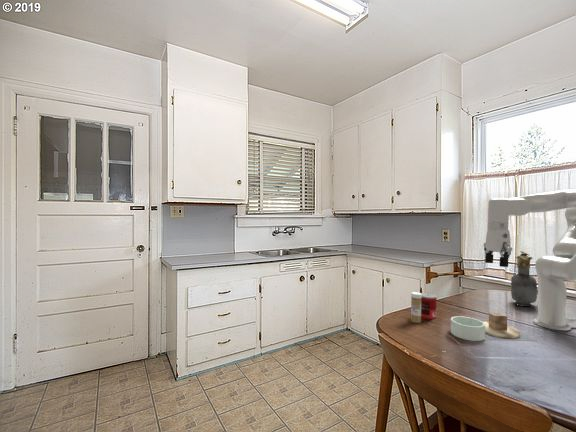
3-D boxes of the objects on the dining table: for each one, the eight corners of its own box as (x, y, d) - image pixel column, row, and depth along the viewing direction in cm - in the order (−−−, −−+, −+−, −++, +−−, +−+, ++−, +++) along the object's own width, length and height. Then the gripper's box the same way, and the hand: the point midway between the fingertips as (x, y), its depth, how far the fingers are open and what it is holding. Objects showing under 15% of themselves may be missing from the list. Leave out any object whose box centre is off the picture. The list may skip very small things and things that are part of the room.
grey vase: (511, 306, 156) (512, 252, 156) (509, 298, 172) (510, 248, 171) (538, 310, 150) (538, 253, 150) (533, 301, 165) (534, 250, 165)
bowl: (473, 330, 125) (473, 316, 125) (491, 342, 113) (492, 327, 113) (445, 329, 125) (445, 315, 125) (460, 341, 113) (461, 326, 113)
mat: (504, 324, 131) (504, 323, 131) (536, 342, 113) (536, 340, 113) (464, 323, 132) (464, 322, 132) (490, 341, 114) (490, 339, 114)
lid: (503, 324, 130) (503, 308, 129) (529, 339, 115) (530, 321, 114) (469, 323, 130) (469, 308, 130) (491, 338, 115) (491, 320, 115)
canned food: (435, 315, 143) (435, 293, 143) (437, 321, 135) (437, 297, 135) (418, 313, 145) (418, 292, 145) (420, 319, 138) (420, 296, 138)
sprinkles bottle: (409, 321, 134) (409, 293, 134) (412, 319, 138) (412, 291, 138) (419, 324, 131) (420, 295, 131) (422, 321, 135) (422, 292, 135)
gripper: (521, 227, 118) (519, 268, 118) (493, 225, 135) (492, 262, 135) (502, 226, 118) (500, 267, 118) (477, 225, 136) (475, 261, 136)
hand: (496, 264), depth 127 cm, fingers open, 9 cm apart
